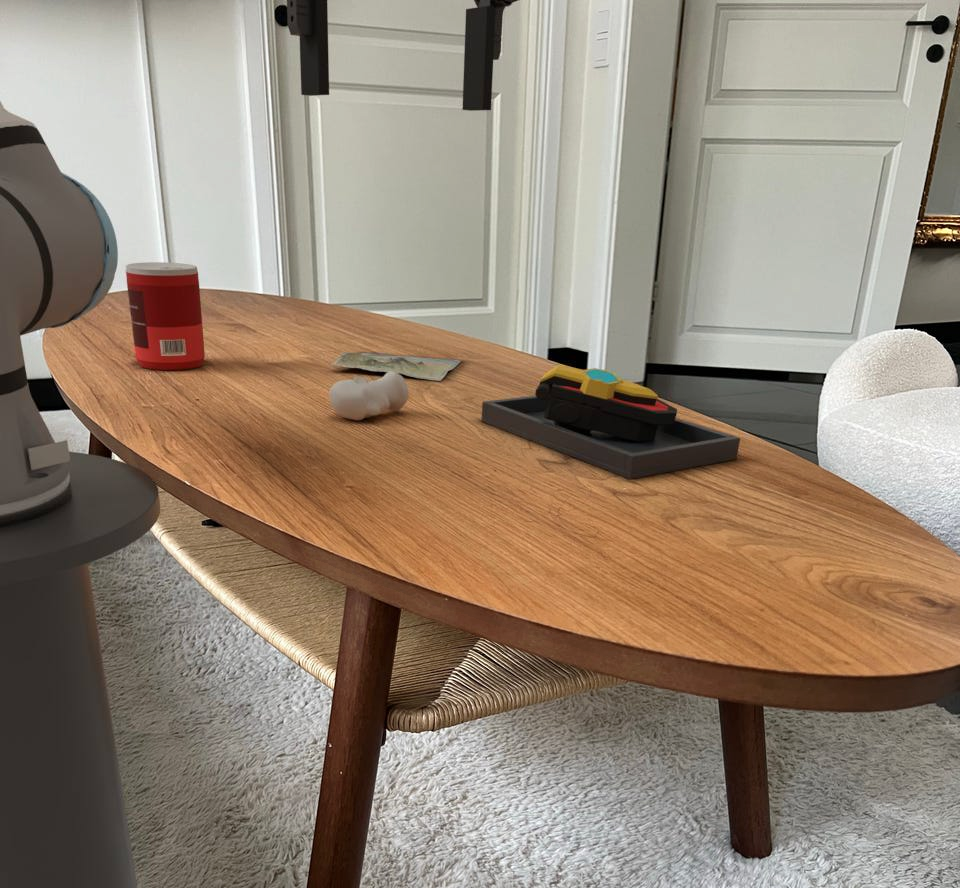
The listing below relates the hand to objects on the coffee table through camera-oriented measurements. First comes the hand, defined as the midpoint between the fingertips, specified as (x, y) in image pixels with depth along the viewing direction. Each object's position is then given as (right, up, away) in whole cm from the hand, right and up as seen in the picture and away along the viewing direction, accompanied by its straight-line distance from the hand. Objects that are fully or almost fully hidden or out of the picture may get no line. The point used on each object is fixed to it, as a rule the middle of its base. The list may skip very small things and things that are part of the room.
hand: (400, 103), depth 68 cm
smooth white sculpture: (-5, -17, +26) cm, 31 cm away
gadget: (+18, -19, +23) cm, 34 cm away
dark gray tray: (+18, -19, +23) cm, 35 cm away
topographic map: (-4, -5, +50) cm, 50 cm away
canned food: (-31, -6, +44) cm, 54 cm away
